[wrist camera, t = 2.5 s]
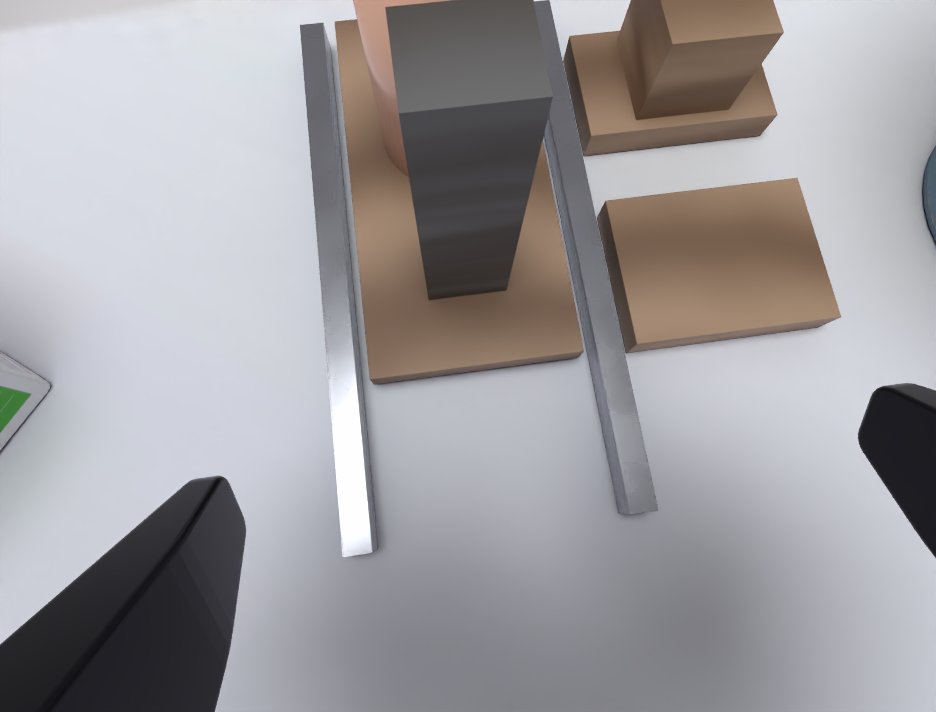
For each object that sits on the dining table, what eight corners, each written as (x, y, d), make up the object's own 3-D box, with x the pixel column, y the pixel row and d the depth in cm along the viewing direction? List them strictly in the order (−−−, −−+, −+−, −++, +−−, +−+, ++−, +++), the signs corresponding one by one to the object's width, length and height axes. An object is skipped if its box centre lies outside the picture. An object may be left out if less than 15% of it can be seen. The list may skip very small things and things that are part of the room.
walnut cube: (728, 109, 23) (783, 32, 19) (636, 120, 23) (672, 44, 19) (705, 31, 24) (753, -58, 20) (616, 41, 24) (647, -48, 20)
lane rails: (644, 508, 20) (658, 510, 19) (350, 552, 20) (342, 556, 18) (544, 26, 25) (549, 0, 24) (308, 50, 25) (300, 25, 24)
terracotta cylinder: (454, 209, 22) (452, 19, 13) (357, 141, 22) (292, -83, 14) (528, 122, 23) (571, -109, 14) (433, 60, 23) (417, -198, 15)
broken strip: (817, 327, 22) (841, 317, 21) (626, 353, 22) (637, 344, 20) (731, 42, 25) (747, 17, 24) (563, 60, 25) (569, 36, 24)
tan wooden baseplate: (578, 357, 21) (712, 209, 10) (374, 384, 21) (274, 262, 10) (513, 22, 25) (558, -360, 14) (339, 40, 25) (238, -339, 13)
